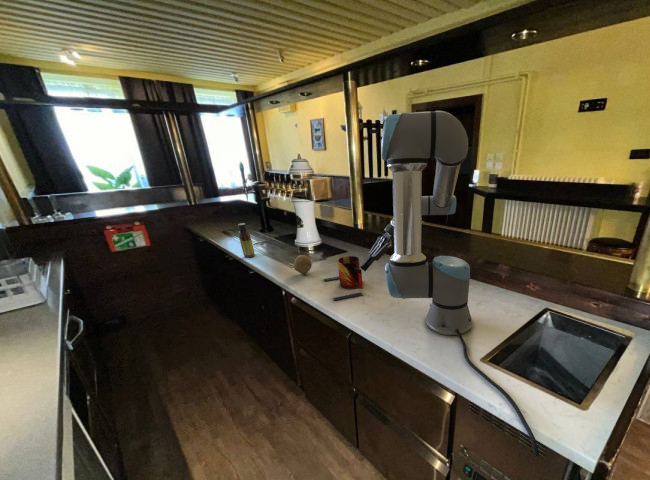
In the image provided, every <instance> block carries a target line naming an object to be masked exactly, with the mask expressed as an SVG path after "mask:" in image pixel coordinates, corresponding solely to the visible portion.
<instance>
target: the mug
mask: <svg viewBox="0 0 650 480" xmlns="http://www.w3.org/2000/svg"><path fill="white" fill-rule="evenodd" d="M336 261H337V271H338V277H339V279H338V280H339V287H340V288H342V289H346V290H352V289H353V290H354V289H356V288H358V289H360V290H363V289H364V282H363V272H362V271H363V270H362V269H361V268H360V267H361V265H360V258H359V257H358V256H354V255H346V256H342V257H339V258H338V259H337V260H336Z"/></svg>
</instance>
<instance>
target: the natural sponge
mask: <svg viewBox="0 0 650 480" xmlns="http://www.w3.org/2000/svg"><path fill="white" fill-rule="evenodd" d="M312 266H313V262H312V260H311V258H310V257H309V256H308V255H306V254H300V255H298V256H297V257H296V258H295V259H294V262H293V269H294V271H296V272H298V273H300V274H301V275H305V274H307V273H309V271H310V270H311V269H312Z"/></svg>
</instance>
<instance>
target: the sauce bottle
mask: <svg viewBox="0 0 650 480" xmlns="http://www.w3.org/2000/svg"><path fill="white" fill-rule="evenodd" d="M237 227H238V229H239V237H238V240H239V242H240V247H241V250H242V254H243V256H244V258H253V257H255V255H256V254H255V249H254V245H253V241H252V237H251V234H250V233H249V232H248V230H247V226H246V223H245V222H242V223H238V224H237Z"/></svg>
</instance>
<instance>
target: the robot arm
mask: <svg viewBox="0 0 650 480" xmlns="http://www.w3.org/2000/svg"><path fill="white" fill-rule="evenodd" d="M468 151H469V137H468V134H467V131H466V129H465V127H464V125H463V124H462V122H461V121H460V120H459V119H458V118H457V116H455V115H453V114H451V113H449V112H448V111H444V110H435V111H412V112H411V111H409V112H401V113H394V114H393V113H392V114H389V115H387V116H386V118H385V120H384V123H383V127H382V135H381V159H382V160H383V161H385V162H386V167H387V168H388V169H389V170H390V171H391V174H392V207H393V217H392V219H391V220H389V221H390V222H389V223H388V224H387V225H386V226H385V228H384V232H385V233H383V235H382V236H381V235H379V236H378V237H377V239H376V241H375V243H374V244H373V245H372V247H371V248H370V250H369V251H368V256H367V258H366V259H365V260H364V262H363V263H362V264H361V265H360V269H361V271H364V272H367V270H369V268H370V267H371V266H372V264H373V263H374V262H375V261H376V262H377V261H379V260H380V259H381V258H382V257H383V256H385V254H386V253H388V251H389V250H390V249H392V248H394V249H393V250H394V251H393V254H391V256H389V262H386V263H385V265H384V267H385V269H384V271H385V280H386V286H387V290H388V293H389V295H390V297H392V298H395V299H404V300H405V299H431V303H429V310H428V313H427V314H426V319H425V323H426V327H427V328H428V329H430V330H431V331H432V332H434V333H436V334H438V335H443V336H458V338H459V340H460V342H461V345H462V350H463V351H462V352H463V356H464V358H465V361H466V362H467V364H468V366H470V367H471V369H473V370H474V371H475V372H476V373H477V374H479V375H480V376H481V377H482V378H483V379H485V380H486V382H488V383H489V384H490V385H491V386H493V387H494V388H495V389H496V390H497V391H499V392H500V393H501V394H502V395H503V397H505V398H506V400H507V401H508V402H509V403H510V405H511V406H512V407H513V409H514V410H515V412H516V414H517V415H518V416H517V417H518V418H519V419H520V421H521V423H522V425H523V427H524V429H525V430H526V433H527V434H528V437H529V439H530V442H531V445H532V446H531V447H532V451H533V454H534V456H536V457H540V450H539V447H538V443H537V439H536V437H535V435H534V433H533V431H532V429H531V427H530V426H529V424H528V422H527V420H526V418H525V417H524V415H523V412H522V411H521V409H520V407H519V406H518V405H517V403H516V402H515V400H514V399H513V398H512V397H511V396H510V394H509V393H508V392H507V391H506V390H505V389H504V388H502V387H501V386H500V385H499V384H498V383H496V381H494V380H492V379H491V378H490V377H489V376H488V375H487V374H485V372H484V371H482V370H481V369H480V368H478V367H477V366H476V365H475V364H474V363H473V362H472V361H471V360H470V358H469V355H468V351H467V350H468V348H467V345H466V342H465V340H464V338H463V336H462V335H463V334H466V333H467V332H469V331H470V330H471V328H472V323H473V320H472V316H471V312H470V309H469V303H468V302H469V292H470V281H471V266H470V263H468V262H467V261H466V260H464V259H462V258H459V257H456V256H451V255H439V256H437V255H436V256H434V258H433V260H432V261H431V262H428V261H427V256H426V255H425V254H424V253H423V252H422V225H423V224H422V221H423V220H422V219H423V218H422V216H447V215H455V213H456V212H457V211H456V210H457V197H456V195H454V193H455V189H456V185H457V181H458V179H459V173H460V169H461V167H462V166H461V165H462V163H464V162H465V160H466V159H467V156H468ZM428 159H435V160H436V166H435V174H434V175H435V176H434V184H433V192H432V195H422V194H423V184H422V183H423V180H422V179H423V171H424V170H425V168H427V166H428ZM392 243H393V244H392Z"/></svg>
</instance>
